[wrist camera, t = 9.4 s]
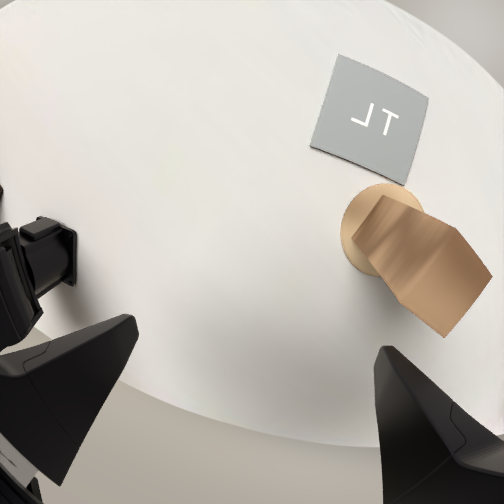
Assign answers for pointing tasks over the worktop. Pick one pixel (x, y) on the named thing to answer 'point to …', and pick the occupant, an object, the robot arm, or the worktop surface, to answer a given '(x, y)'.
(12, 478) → the robot arm
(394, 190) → the cork coaster
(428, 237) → the walnut block
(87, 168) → the worktop surface
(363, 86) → the tile
